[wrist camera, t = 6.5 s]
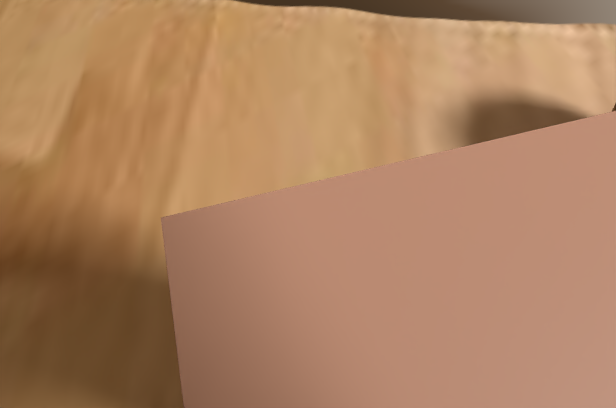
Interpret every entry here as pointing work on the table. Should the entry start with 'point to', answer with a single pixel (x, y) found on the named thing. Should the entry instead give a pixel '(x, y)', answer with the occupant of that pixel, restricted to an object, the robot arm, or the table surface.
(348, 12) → the table surface
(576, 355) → the carton
